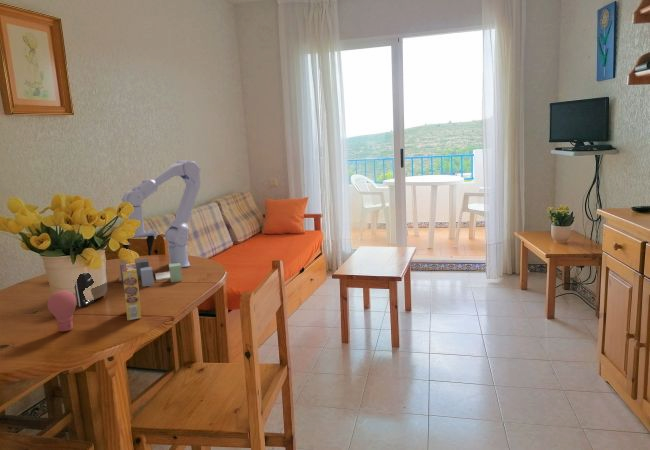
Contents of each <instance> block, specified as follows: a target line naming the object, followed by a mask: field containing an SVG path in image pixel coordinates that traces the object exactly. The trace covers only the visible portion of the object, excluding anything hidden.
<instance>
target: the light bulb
mask: <svg viewBox="0 0 650 450" xmlns="http://www.w3.org/2000/svg"><path fill="white" fill-rule="evenodd" d="M76 307H77V297H76V295H75V294H73V292H72V291H69V290H65V289H63V290H62V289H61V290H57V291H55V292H54V293H52V294H50V296H49V298H48V299H47V308H48V310H49V312H50V314H51V315H52V316H54V317H55V319H56V322H57V330H58V331H59V332H67V331H70V330H72V329H73V328H74V326H73V325H74V323H73V319H74V317H73V315H74V312H75V310H76Z"/></svg>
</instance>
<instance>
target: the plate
mask: <svg viewBox="0 0 650 450" xmlns="http://www.w3.org/2000/svg"><path fill="white" fill-rule="evenodd" d="M154 274H155V281H163V280H168V279H169V280H170V271H169V270H168V271H163V272H157V273H156V272H155V273H154Z"/></svg>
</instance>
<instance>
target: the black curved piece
mask: <svg viewBox="0 0 650 450" xmlns="http://www.w3.org/2000/svg"><path fill="white" fill-rule="evenodd" d="M75 283H76V284H75V286H74V290H75V297H76V301H77V303H76V305H77V307H80V308H81V307H88V306H90V305H92V304H93V303H94V302H95V301H94V300H92V301H89V300H88V301H89V302H87V300H86V298H85V296H84V294H83V291H84V290H85V288H88V287H89V286H91V287H92V285H94V284H95V283H94V281H93V279H92V277H91V275H90V274H89V273H83V274H80V275H79V277H78V279H77V281H76V282H75ZM93 283H94V284H93Z"/></svg>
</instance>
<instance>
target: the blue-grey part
mask: <svg viewBox="0 0 650 450" xmlns="http://www.w3.org/2000/svg"><path fill="white" fill-rule="evenodd" d="M140 269H141V278H142V279H141V286H142V287H143V288H144V287H150V286H154V285H155V281H154V280H155V279H154V272H153V266H149V267H145V268H140Z"/></svg>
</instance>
